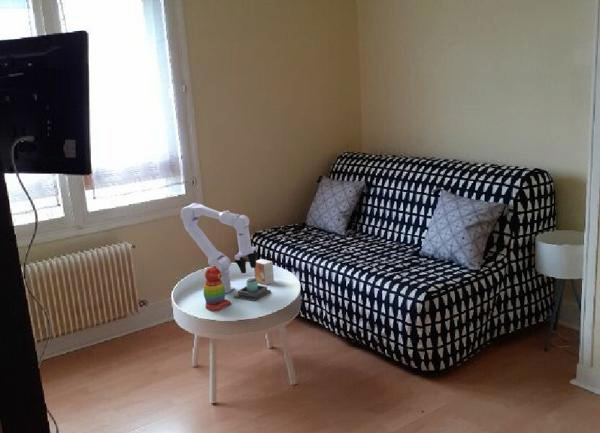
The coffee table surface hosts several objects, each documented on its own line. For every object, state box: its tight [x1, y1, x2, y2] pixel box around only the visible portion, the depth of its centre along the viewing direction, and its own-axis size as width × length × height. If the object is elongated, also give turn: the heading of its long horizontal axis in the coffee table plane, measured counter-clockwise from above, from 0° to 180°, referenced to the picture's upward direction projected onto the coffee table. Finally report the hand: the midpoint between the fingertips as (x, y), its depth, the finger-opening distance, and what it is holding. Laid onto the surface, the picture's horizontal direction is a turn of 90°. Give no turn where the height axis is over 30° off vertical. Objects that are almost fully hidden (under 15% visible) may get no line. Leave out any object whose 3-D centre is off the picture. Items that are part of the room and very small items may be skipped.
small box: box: [253, 258, 275, 286], centre depth 292 cm, size 8×6×10 cm
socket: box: [234, 284, 272, 302], centre depth 276 cm, size 12×12×3 cm
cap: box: [246, 277, 259, 293], centre depth 276 cm, size 5×5×6 cm
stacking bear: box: [203, 266, 232, 312], centre depth 264 cm, size 11×10×18 cm
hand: (248, 270), depth 279 cm, fingers open, 7 cm apart
